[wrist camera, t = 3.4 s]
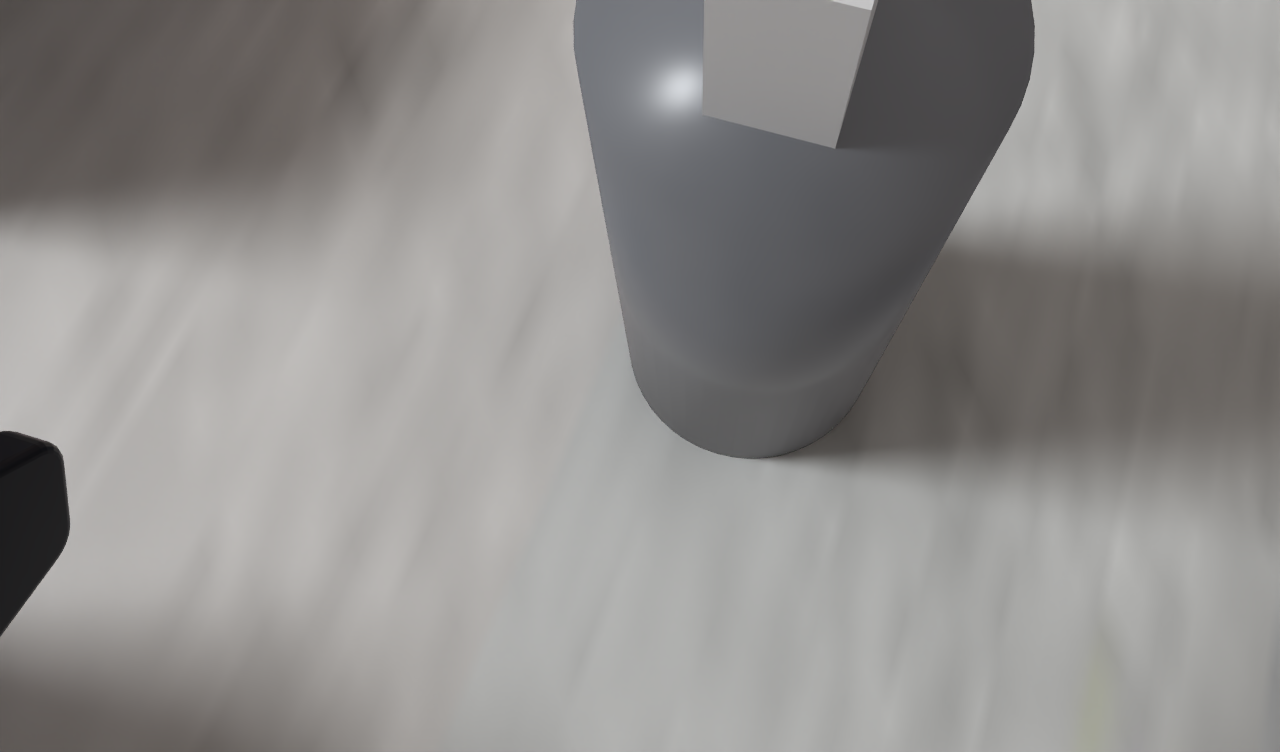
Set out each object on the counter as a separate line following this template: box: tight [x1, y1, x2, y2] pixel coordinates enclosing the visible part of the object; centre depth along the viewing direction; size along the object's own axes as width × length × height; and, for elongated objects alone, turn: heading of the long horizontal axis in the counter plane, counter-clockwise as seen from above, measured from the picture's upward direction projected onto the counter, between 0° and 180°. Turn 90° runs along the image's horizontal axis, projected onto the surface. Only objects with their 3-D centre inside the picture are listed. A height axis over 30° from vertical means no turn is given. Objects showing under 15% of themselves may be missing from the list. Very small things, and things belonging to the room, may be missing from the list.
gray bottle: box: [574, 0, 1035, 458], centre depth 16 cm, size 5×5×13 cm
